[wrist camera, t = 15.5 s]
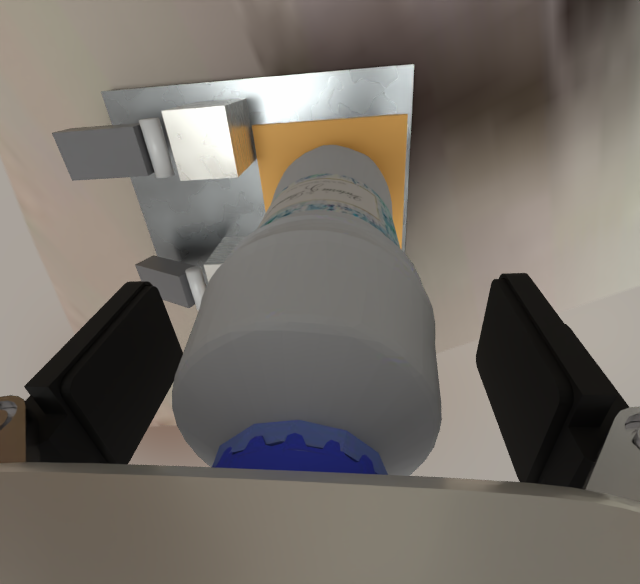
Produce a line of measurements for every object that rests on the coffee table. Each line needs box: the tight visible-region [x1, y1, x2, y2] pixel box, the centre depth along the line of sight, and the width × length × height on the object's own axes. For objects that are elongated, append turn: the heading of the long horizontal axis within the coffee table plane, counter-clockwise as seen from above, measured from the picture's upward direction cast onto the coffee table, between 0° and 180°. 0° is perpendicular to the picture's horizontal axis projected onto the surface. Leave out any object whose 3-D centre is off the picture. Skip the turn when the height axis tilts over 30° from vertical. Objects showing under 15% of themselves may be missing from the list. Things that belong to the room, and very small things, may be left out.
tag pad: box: [252, 114, 408, 250], centre depth 22 cm, size 8×8×1 cm
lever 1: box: [52, 118, 175, 181], centre depth 18 cm, size 5×3×1 cm, turn 94°
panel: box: [101, 64, 414, 287], centre depth 21 cm, size 17×13×6 cm
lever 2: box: [135, 255, 206, 311], centre depth 23 cm, size 5×3×1 cm, turn 94°
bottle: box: [172, 145, 442, 476], centre depth 14 cm, size 7×7×20 cm
